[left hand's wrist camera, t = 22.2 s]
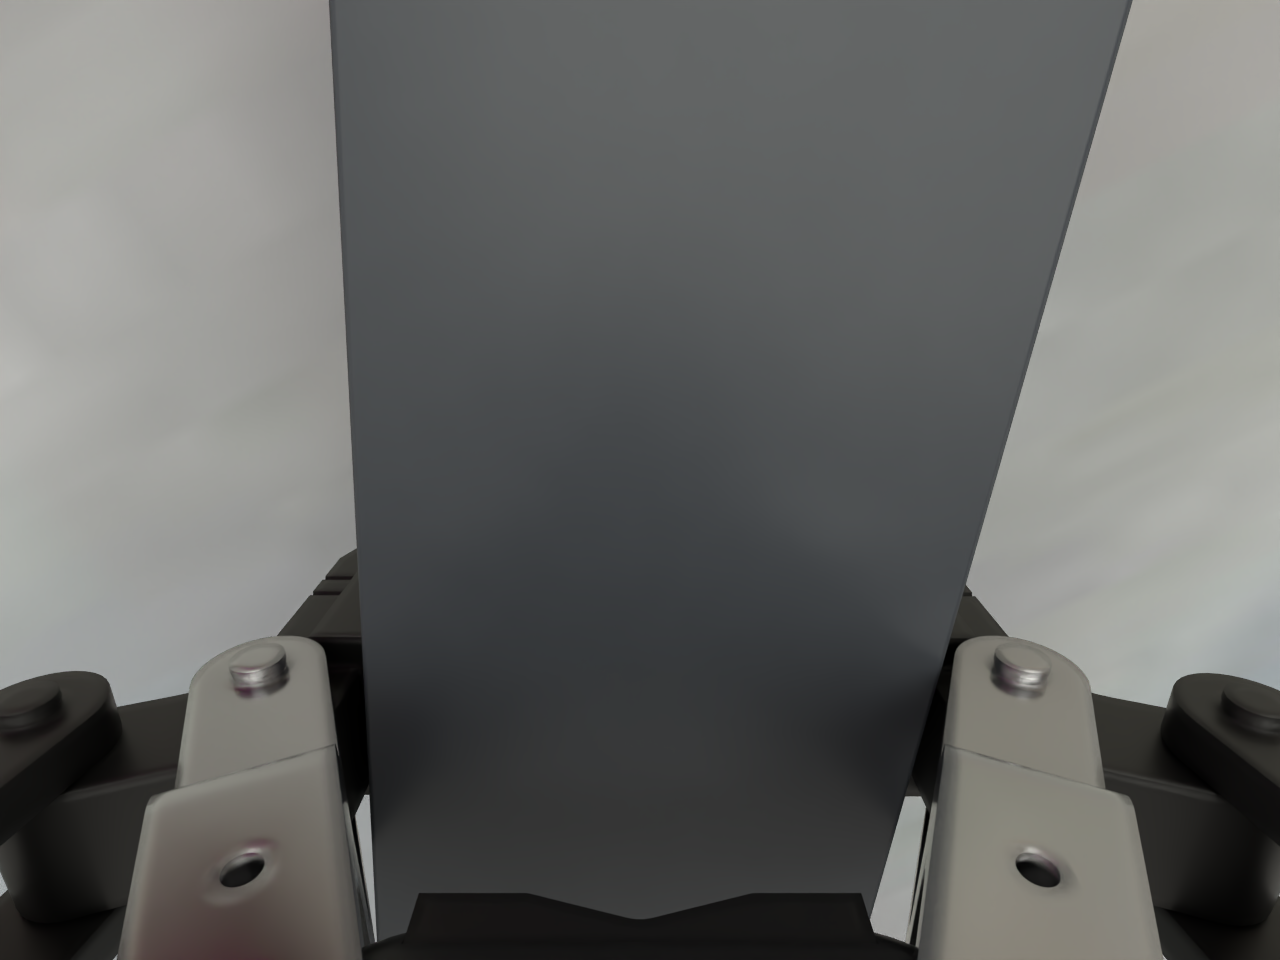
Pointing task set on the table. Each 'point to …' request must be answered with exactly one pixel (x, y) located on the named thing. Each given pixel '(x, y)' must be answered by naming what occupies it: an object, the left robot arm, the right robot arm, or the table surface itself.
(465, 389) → the box
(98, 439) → the table surface
